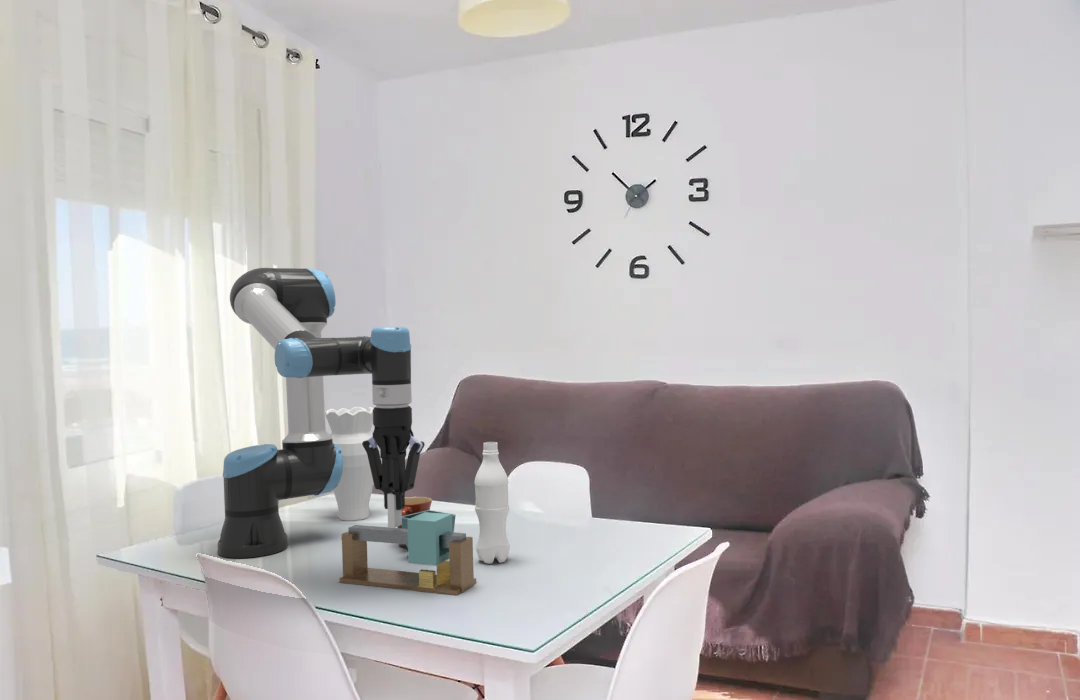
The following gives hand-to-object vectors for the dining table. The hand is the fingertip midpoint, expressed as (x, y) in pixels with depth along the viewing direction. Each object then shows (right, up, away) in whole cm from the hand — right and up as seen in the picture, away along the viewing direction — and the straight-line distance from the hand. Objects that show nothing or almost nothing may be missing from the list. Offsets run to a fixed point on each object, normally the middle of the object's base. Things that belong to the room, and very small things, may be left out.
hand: (395, 525), depth 161 cm
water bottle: (+19, -10, +13) cm, 25 cm away
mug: (-1, -11, +26) cm, 28 cm away
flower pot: (+4, -11, +18) cm, 21 cm away
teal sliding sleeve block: (+7, -3, -3) cm, 9 cm away
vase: (-21, -10, +58) cm, 63 cm away
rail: (+3, -11, -1) cm, 11 cm away
